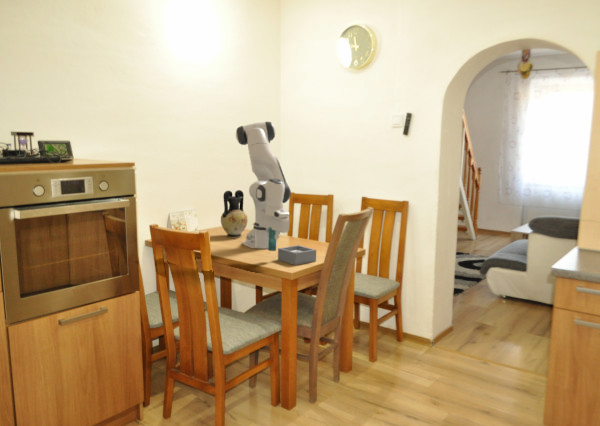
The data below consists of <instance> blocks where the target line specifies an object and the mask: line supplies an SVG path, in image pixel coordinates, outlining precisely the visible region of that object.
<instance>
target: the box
mask: <svg viewBox="0 0 600 426" xmlns="http://www.w3.org/2000/svg"><path fill="white" fill-rule="evenodd" d="M277 251H278V252H277V260H278V261H281V262H283V263H288V264H291V265H294V266H297V265H298V266H299V265H305V264H308V263H313V262H317V249H316V248H311V247H308V246H303V245H299V244H298V245H292V246H286V247H279V248H277Z"/></svg>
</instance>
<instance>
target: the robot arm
mask: <svg viewBox="0 0 600 426" xmlns="http://www.w3.org/2000/svg"><path fill="white" fill-rule="evenodd" d="M275 136H276V127H275V125H274V124H273V122H271V121H263V122H254V123H250V124H246V125H241V126H239V127H237V128H236V131H235V138H236V140H237V142H238V144H239V145H241V146H247V147H248V155H249V160H250V166H251V170H252V172H253V174H254V175H255V176H256V178H257V181H255V182H254V183H252V184H250V186H249V188H248V193H249V195H250V197H251V199H252V201H253V205H254V209H255V210H254V211H255V212H254V213H255V217H254V218H255V219H254V220H255V222H253V223H252V226H253V228H252V229H251V230H250V231H249V232H248V233H247V234H246V236H245V240H244V241H242V242H241V244H242V245H244V246H246V247H247V248H250V249H265V250H266V249H268V243H269V227H271V228H272V230H275V233H276V235H275V236H274V239H276V241H277V240H279V237H280V234H281V233H283V234H286V233H288V232H289V230H290V218H289V217H291V216H290V212H289V211H287V210H286V209H285V208H284V204H285V203H287V202H288V201H289V200H290V198H291V196H292V192H291V188H290V185H288V183H287V180H286V177H285V175H284V173H283V172H284V171H283V169H282V167H281V164H280V162H279V159H278V157H276V156H275V155H274V154H273V153H272V150H271V149H270V145H269V144H270V143H271V141H273V140H274V139H275ZM278 236H279V237H278ZM277 246H278V242H276V248H277Z"/></svg>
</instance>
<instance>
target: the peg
mask: <svg viewBox="0 0 600 426" xmlns="http://www.w3.org/2000/svg"><path fill="white" fill-rule="evenodd" d="M275 235H276V233H275V230H272V228H271V227H269V243H268V248H267V249H268V251H270V252H275V251H277V247H276V243H277V240H276V239H274V236H275Z"/></svg>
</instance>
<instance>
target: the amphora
mask: <svg viewBox="0 0 600 426" xmlns="http://www.w3.org/2000/svg"><path fill="white" fill-rule="evenodd" d="M244 196H245V195H244V192H243V191H242V190H240V189H239V190H238V189H237V190H236V191H235V192H234V196H233V192H232V191H231V190H226V191H225V192H224V193H223V207H224V211H223V213H221V216H220V224H221V226H222V229H223V231H224V232H225V233H226V234H227V236H226V237H227V238H233V239H236V238H237V239H239V238H242V236H243V235H242V233H243V232H244V231H245V229H246V228H247V225H248V222H249V221H248V215H247V214H246V212H245V211H244Z"/></svg>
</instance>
